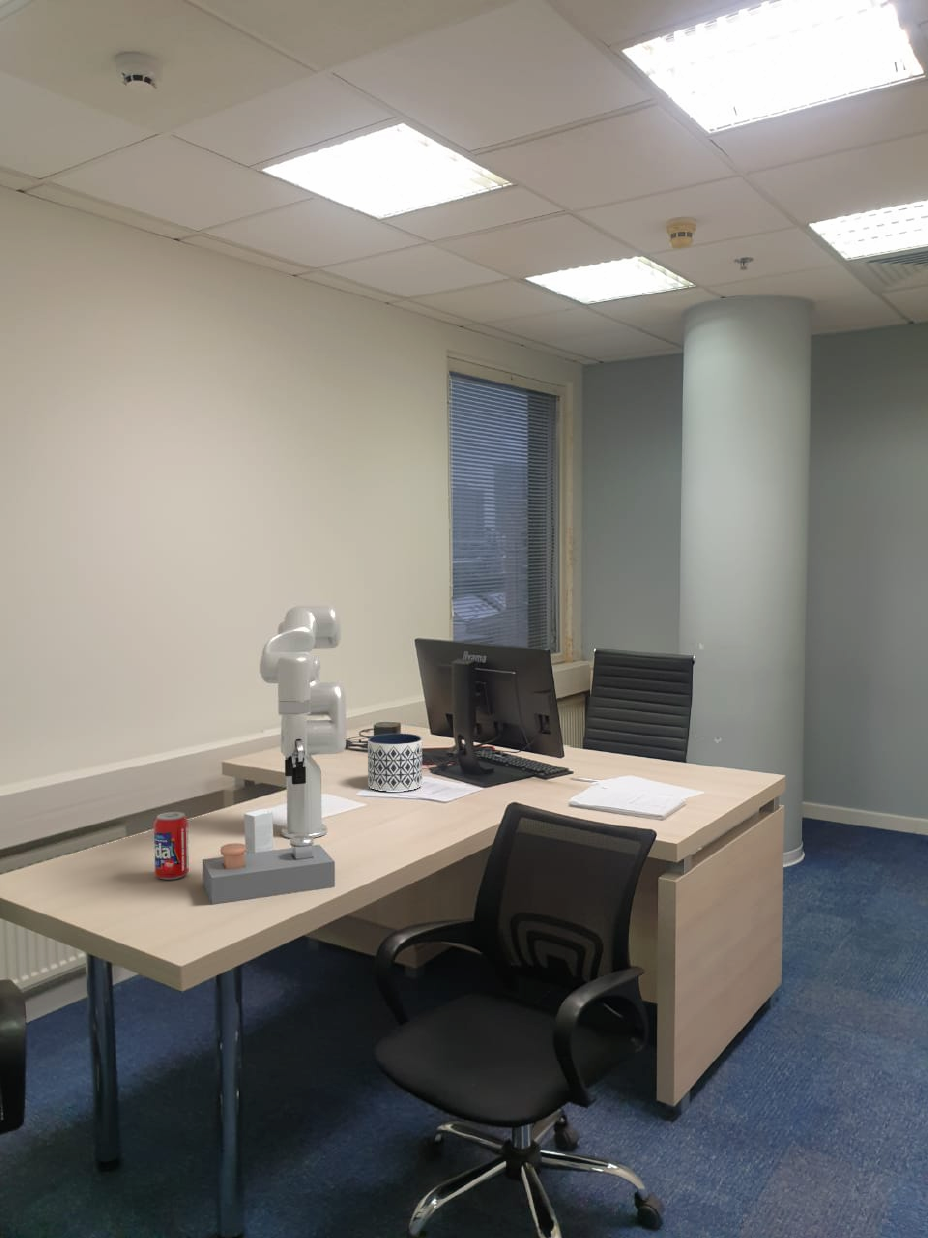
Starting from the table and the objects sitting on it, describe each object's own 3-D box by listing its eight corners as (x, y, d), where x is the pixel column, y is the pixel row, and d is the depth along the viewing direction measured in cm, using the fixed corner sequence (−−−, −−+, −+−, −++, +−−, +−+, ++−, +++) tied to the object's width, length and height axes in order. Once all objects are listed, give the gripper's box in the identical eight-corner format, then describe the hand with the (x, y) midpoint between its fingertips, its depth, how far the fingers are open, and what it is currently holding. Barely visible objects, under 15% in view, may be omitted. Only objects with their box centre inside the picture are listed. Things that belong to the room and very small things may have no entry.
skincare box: (263, 853, 242) (262, 808, 241) (274, 857, 239) (273, 811, 238) (244, 859, 237) (243, 813, 236) (255, 863, 234) (254, 816, 234)
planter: (416, 794, 303) (415, 744, 302) (361, 792, 306) (361, 743, 304) (427, 781, 321) (426, 734, 320) (375, 779, 323) (375, 732, 322)
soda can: (195, 875, 225) (194, 814, 224) (166, 884, 219) (164, 821, 218) (177, 868, 230) (176, 809, 229) (148, 876, 224) (147, 815, 223)
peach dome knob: (219, 871, 216) (219, 845, 216) (243, 868, 218) (243, 842, 218) (223, 879, 211) (223, 852, 211) (248, 875, 213) (247, 849, 213)
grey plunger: (287, 862, 222) (287, 836, 222) (310, 859, 225) (310, 834, 224) (293, 869, 217) (292, 843, 217) (316, 866, 220) (316, 840, 219)
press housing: (203, 884, 219) (202, 859, 218) (319, 868, 230) (319, 844, 230) (212, 904, 206) (211, 878, 206) (334, 886, 217) (334, 861, 217)
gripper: (273, 704, 226) (274, 774, 227) (284, 713, 210) (284, 788, 211) (304, 702, 229) (304, 771, 229) (317, 711, 212) (317, 786, 213)
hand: (295, 779), depth 220 cm, fingers open, 9 cm apart
